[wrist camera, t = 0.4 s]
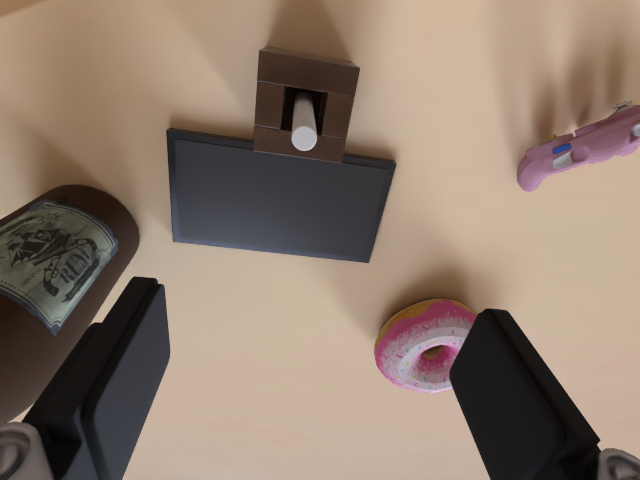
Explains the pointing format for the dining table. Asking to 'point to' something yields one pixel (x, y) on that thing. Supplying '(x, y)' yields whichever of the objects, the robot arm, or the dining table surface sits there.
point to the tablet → (274, 198)
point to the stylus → (303, 123)
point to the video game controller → (582, 146)
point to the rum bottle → (55, 283)
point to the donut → (423, 344)
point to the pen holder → (313, 75)
